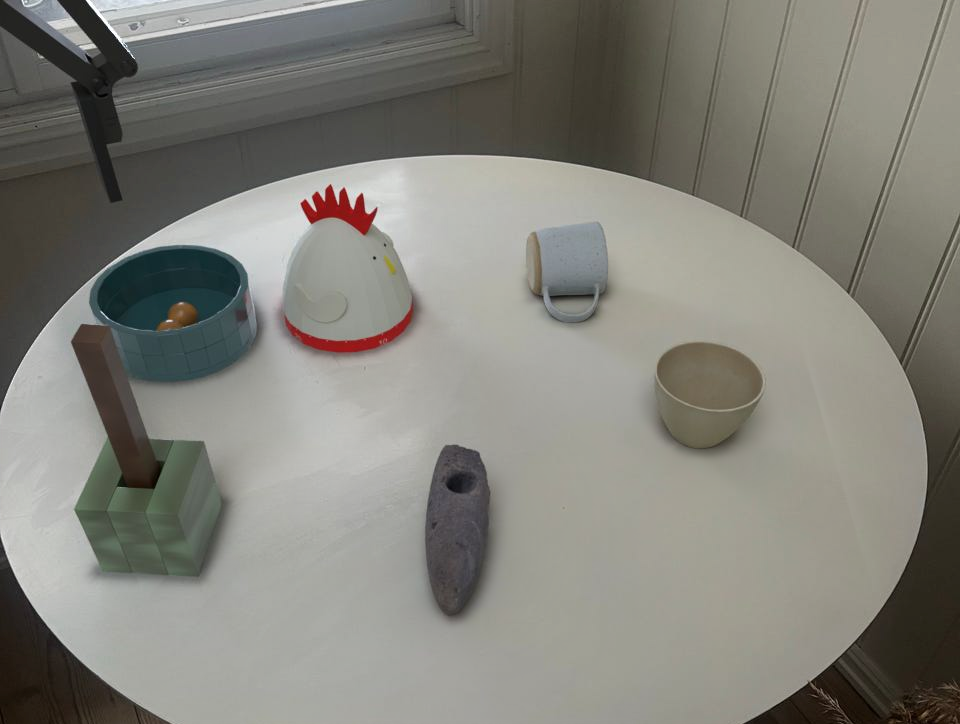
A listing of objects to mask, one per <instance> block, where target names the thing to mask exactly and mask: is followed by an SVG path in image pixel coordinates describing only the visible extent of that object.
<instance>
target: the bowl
mask: <svg viewBox="0 0 960 724" xmlns="http://www.w3.org/2000/svg"><path fill="white" fill-rule="evenodd" d="M251 289H252V288H251V285H250V280H249V274H248V272H247V271H246V269H245V266H244V265H243V263H242V262H240V261H239V259H236V258H235V257H234V256H233V255H231V254H230V253H227V252H225V251H223V250H220V249H217V248H215V247H210V246H205V245H199V244H173V245H171V244H170V245H162V246H157V247H152V248H148V249H144V250H141V251H138V252H135V253H132V254H130V255H128V256H126V257H123V258H122V259H120V260H118V261H117V262H116V263H113V264H112V265H110V266H109V267H107V268H106V269H105V270H104V271H103V272H102V273H101V274H100V275H99V276H97V278H96V280H95V281H94V283H93V285H92V286H91V288H90V291H89V297H88V304H89V307H90V310H91V313H92V317H93V319H94V321H95V324H96V325H109V326H110V328H111V331H112V334H113V337H114V340H115V343H116V346H117V349H118V351H119V354H120V357H121V360H122V363H123V366H124V369H125V372H126V374H127V376H131V377H132V378H136V379H139V380H143V381H148V382H154V383H155V382H157V383H178V382H179V383H181V382H187V381H193V380H197V379H201V378H205V377H207V376H210V375H213V374H216V373H217V372H220V371H222V370H224V369H226V368H227V367H229V366H231V365H232V364H234V363H235V362H237V361H238V360H240V359H241V358H242V357H243V356H244V355H245V354H246V353H247V352H248V351H249V349H250V348H251V347H252V345H253V343H254V342H255V339H256V336H257V332H258V322H257V317H256V310H255V305H254V299H253V294H252V290H251ZM178 302H187V303H189V304H191V305H192V306H194V308H195V309H196V310H197V313H198V322H197V324H194V325H191V326H187V327H183V328H179V329H173V330H164V331H156V330H157V327H158V325H159V324H160V323H161V322H163V321H165V320H168V312H169V310H170V308H171V307H172V306H173V305H174V304H176V303H178Z"/></svg>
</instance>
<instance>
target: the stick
mask: <svg viewBox="0 0 960 724" xmlns="http://www.w3.org/2000/svg"><path fill="white" fill-rule="evenodd" d="M70 344H71V346H72V348H73V352H74V354H75V356H76V359H77V361H78V364H79V367H80V369H81V372H82V374H83V377H84V379H85V382H86V385H87V387H88V389H89V392H90V395H91V397H92V400H93V402H94V404H95V407H96V409H97V412H98V415H99V417H100V420H101V423H102V426H103V428H104V430H105V434H106V436H107V437H108V438H109V441H110V443H111V446H112V448H113V451H114V453H115V456H116V459H117V461H118V464H119V466H120V469H121V471H122V474H123V476H124V479H125V482H126V484H127V487H128V488H145V489H155V487H156V484H157V482H158V479H159V477H160V474H161V472H160V470H159V467H158V464H157V461H156V458H155V455H154V452H153V449H152V447H151V444H150V441H149V439H150V438H149V435H148V432H147V430H146V426H145V423H144V420H143V418H142V415H141V412H140V409H139V406H138V403H137V401H136V397H135V395H134V392H133V388H132V386H131V383H130V380H129V377H128V374H126V372H125V369H124V366H123V363H122V360H121V357H120V354H119V351H118V349H117V346H116V343H115V340H114V337H113V334H112V331H111V328H110V326H109V325H97V324H96V323H95V324H94V323H80V325H79V327H78V328H77V330H76V332H75V333H74V335H73V337H72V338H71V340H70Z"/></svg>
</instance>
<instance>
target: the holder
mask: <svg viewBox="0 0 960 724" xmlns="http://www.w3.org/2000/svg"><path fill="white" fill-rule="evenodd" d="M149 441H150V444H151V447H152V449H153V452H154V455H155V458H156V461H157V464H158V467H159V470H160V472H161V474H160V477H159V479H158V482H157V484H156V487H155V489H145V488H128V487H127V484H126V482H125V479H124V476H123V474H122V471H121V469H120V466H119V464H118V461H117V459H116V456H115V453H114V451H113V448H112V446H111V443H110V441H109V438H108V436H107V437H106V439H105V442H104V443H103V446H102V448H101V450H100V452H99V453H98V457H97V459H96V461H95V463H94V466H93V468H92V470H91V471H90V474H89V476H88V478H87V480H86V483H85V485H84V487H83V489H82V491H81V493H80V494H79V498H78V499H77V502H76V504H75V506H74V508H73V510H74V512H75V515H76V517H77V519H78V521H79V523H80V526H81V528H82V530H83V532H84V534H85V536H86V538H87V541H88V543H89V545H90V547H91V549H92V552H93V554H94V555H95V558H96V560H97V562H98V564H99V566H100V568H101V571H102V572H103V573H114V574H115V573H116V574H117V573H118V574H119V573H120V574H135V575H151V576H152V575H154V576H155V575H156V576H171V577H173V576H175V577H193V578H199V577H200V574H201V571H202V569H203V565H204V562H205V559H206V557H207V556H206V555H207V553H208V550H209V547H210V543H211V540H212V538H213V535H214V531H215V528H216V525H217V522H218V518H219V515H220V513H221V509H222V506H223V504H222V499H221V496H220V493H219V489H218V486H217V482H216V478H215V475H214V471H213V468H212V464H211V461H210V457H209V454H208V451H207V446H206V443H205V441H204V440H192V439H191V440H190V439H189V440H188V439H169V438H168V439H167V438H149Z"/></svg>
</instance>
